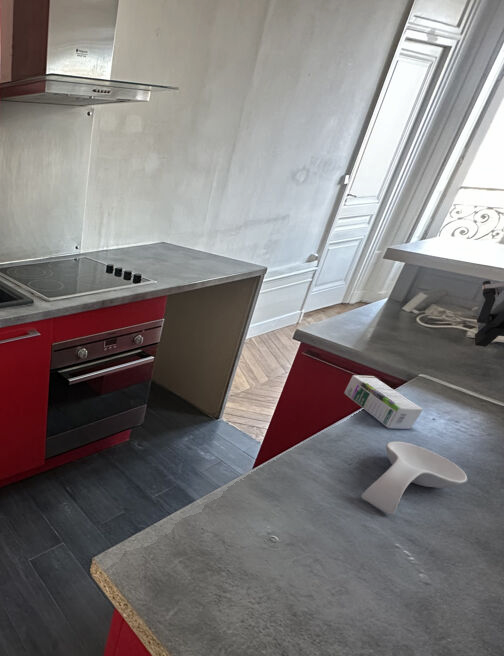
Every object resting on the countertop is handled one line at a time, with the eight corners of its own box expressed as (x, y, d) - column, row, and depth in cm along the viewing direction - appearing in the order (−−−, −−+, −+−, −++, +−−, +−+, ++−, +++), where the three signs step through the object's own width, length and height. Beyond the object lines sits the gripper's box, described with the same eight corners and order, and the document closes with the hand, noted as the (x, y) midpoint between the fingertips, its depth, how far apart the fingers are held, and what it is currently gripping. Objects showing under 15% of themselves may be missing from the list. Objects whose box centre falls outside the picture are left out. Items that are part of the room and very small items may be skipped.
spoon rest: (391, 447, 88) (408, 420, 85) (465, 484, 79) (487, 456, 76) (339, 487, 77) (355, 458, 74) (418, 535, 68) (441, 504, 65)
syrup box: (387, 428, 94) (341, 393, 107) (412, 429, 94) (363, 393, 107) (399, 408, 92) (350, 374, 105) (425, 409, 92) (373, 375, 105)
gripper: (509, 277, 65) (435, 349, 84) (640, 287, 59) (529, 363, 78) (507, 241, 68) (436, 319, 87) (632, 248, 62) (526, 330, 81)
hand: (480, 340), depth 82 cm, fingers closed
